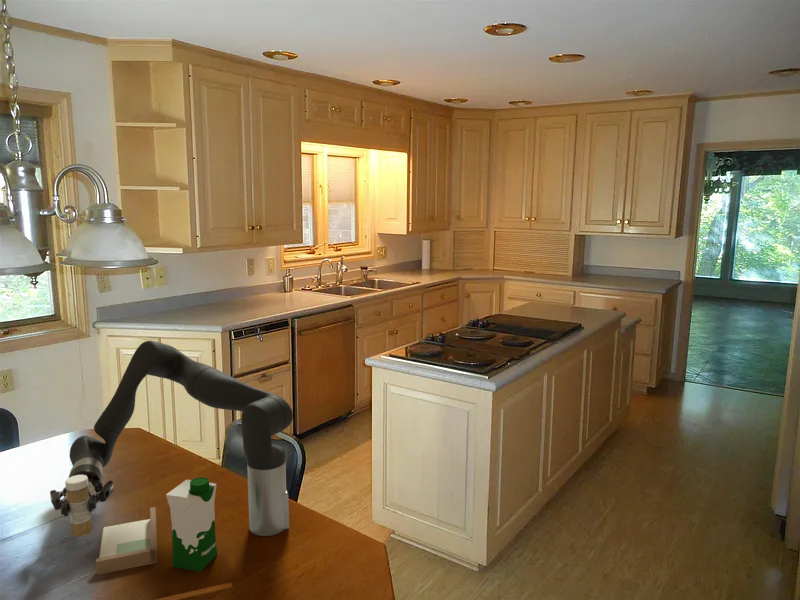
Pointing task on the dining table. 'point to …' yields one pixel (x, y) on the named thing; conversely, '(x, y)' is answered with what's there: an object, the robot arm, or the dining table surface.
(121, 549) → the pad
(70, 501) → the sprinkles bottle
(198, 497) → the milk carton
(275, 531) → the robot arm
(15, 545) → the dining table surface
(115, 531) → the tray
